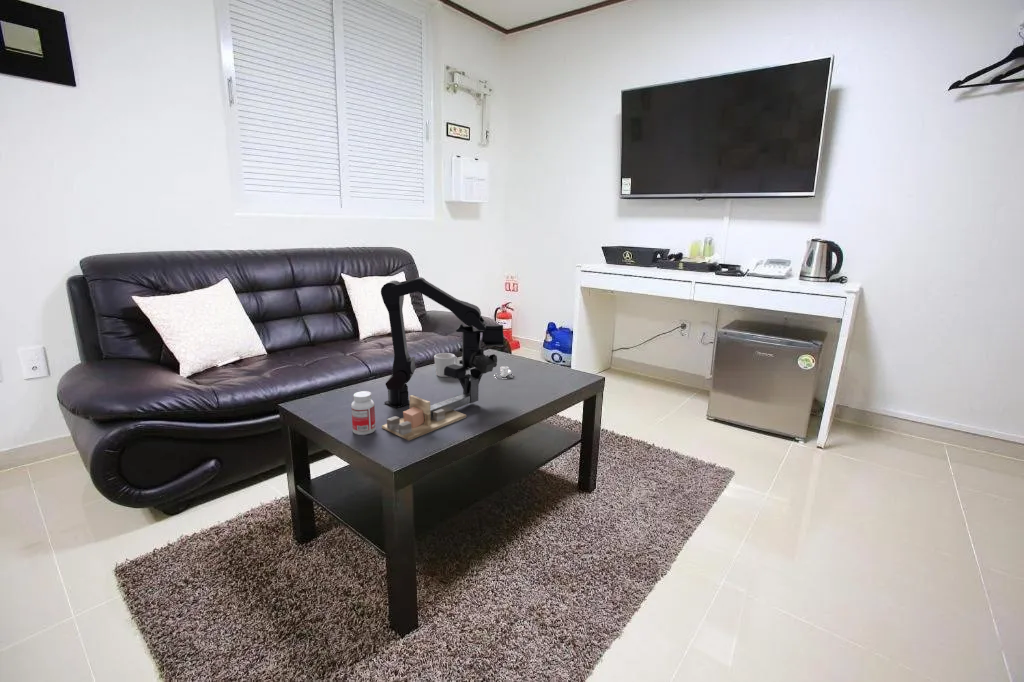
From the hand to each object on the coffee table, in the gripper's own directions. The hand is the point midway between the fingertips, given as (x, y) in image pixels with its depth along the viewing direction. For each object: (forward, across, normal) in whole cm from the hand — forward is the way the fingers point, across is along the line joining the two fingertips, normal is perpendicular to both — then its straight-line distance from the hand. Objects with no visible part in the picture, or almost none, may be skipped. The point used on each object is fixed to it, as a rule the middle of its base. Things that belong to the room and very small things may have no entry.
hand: (470, 391), depth 154 cm
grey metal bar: (+3, -9, 0) cm, 10 cm away
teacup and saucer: (+5, +33, +10) cm, 35 cm away
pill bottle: (+5, -35, +8) cm, 36 cm away
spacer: (+4, -23, 0) cm, 24 cm away
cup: (+5, +17, +29) cm, 34 cm away
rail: (+4, -19, 0) cm, 20 cm away
